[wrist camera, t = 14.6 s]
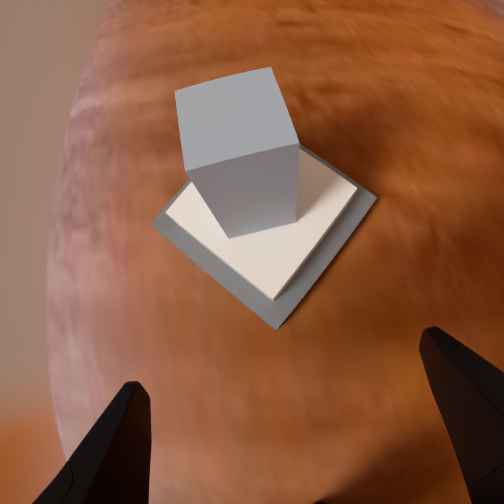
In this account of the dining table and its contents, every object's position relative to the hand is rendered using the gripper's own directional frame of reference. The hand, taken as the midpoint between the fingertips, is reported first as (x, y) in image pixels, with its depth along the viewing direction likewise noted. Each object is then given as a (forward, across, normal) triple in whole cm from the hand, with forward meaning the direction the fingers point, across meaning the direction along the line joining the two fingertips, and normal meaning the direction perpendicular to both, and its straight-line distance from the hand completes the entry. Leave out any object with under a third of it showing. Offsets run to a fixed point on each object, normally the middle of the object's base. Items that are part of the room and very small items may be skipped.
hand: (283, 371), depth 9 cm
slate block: (+13, 0, 0) cm, 13 cm away
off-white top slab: (+15, 0, +2) cm, 15 cm away
